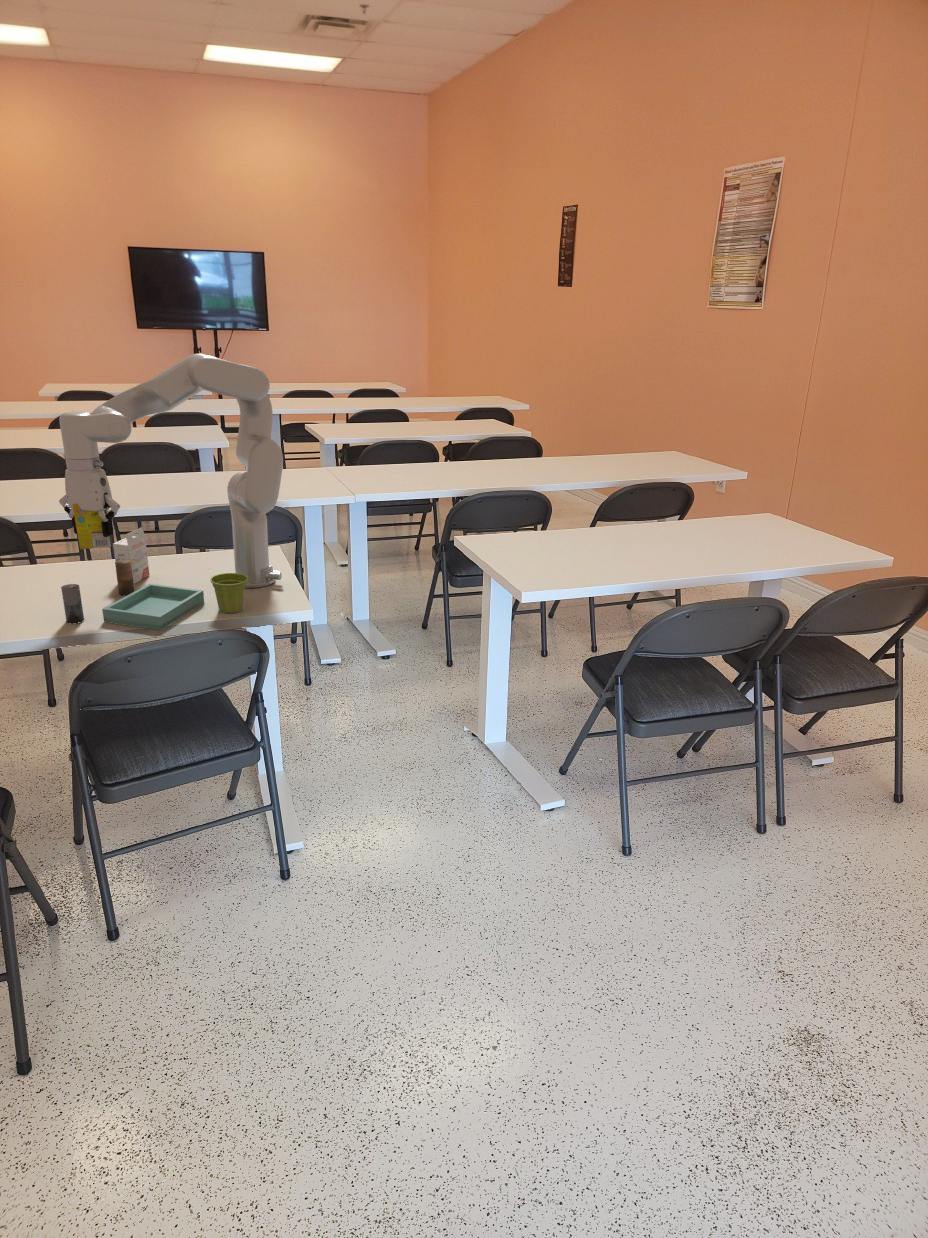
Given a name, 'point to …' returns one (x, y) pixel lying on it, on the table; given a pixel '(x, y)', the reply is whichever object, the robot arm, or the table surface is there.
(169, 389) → the robot arm
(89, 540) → the crayon box
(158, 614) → the teal tray
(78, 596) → the graphite cylinder
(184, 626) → the table surface
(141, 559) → the ink cartridge box
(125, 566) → the walnut cylinder
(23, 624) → the table surface
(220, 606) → the plant pot
